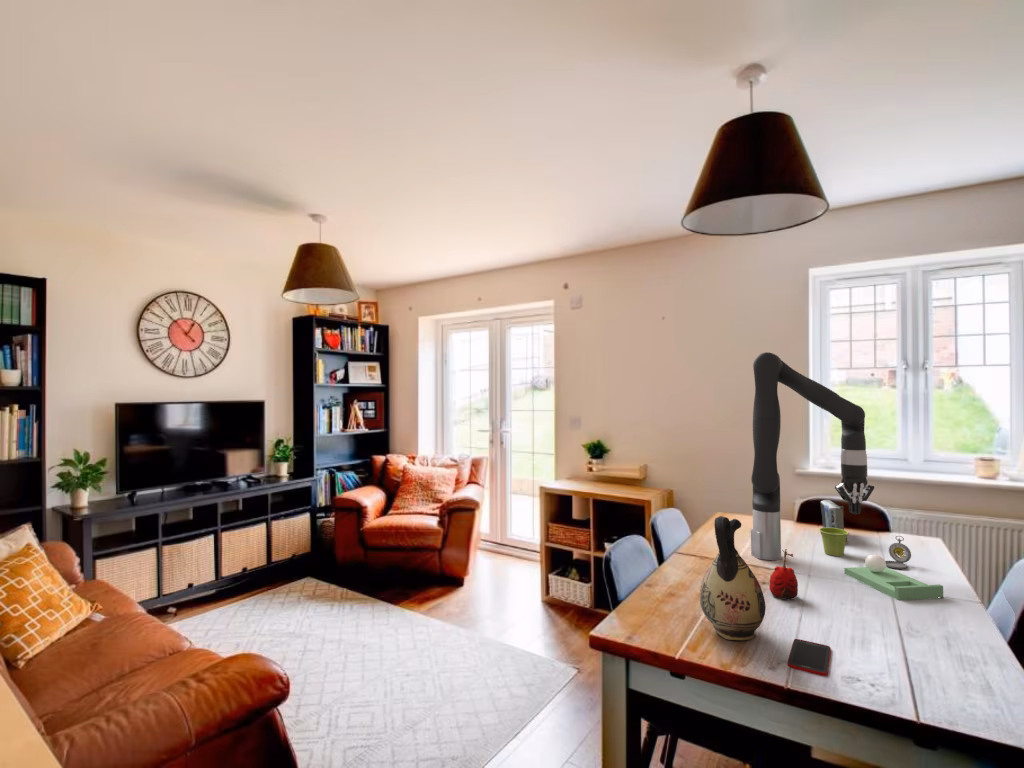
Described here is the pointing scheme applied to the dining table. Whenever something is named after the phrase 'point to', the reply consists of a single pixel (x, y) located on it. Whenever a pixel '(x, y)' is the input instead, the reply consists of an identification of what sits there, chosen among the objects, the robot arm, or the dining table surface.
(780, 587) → the red clay folk toy
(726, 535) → the ceramic jug
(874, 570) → the ball
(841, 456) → the robot arm
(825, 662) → the cell phone
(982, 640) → the dining table surface
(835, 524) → the radio
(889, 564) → the pocket watch
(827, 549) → the plant pot
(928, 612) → the dining table surface
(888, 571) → the green
